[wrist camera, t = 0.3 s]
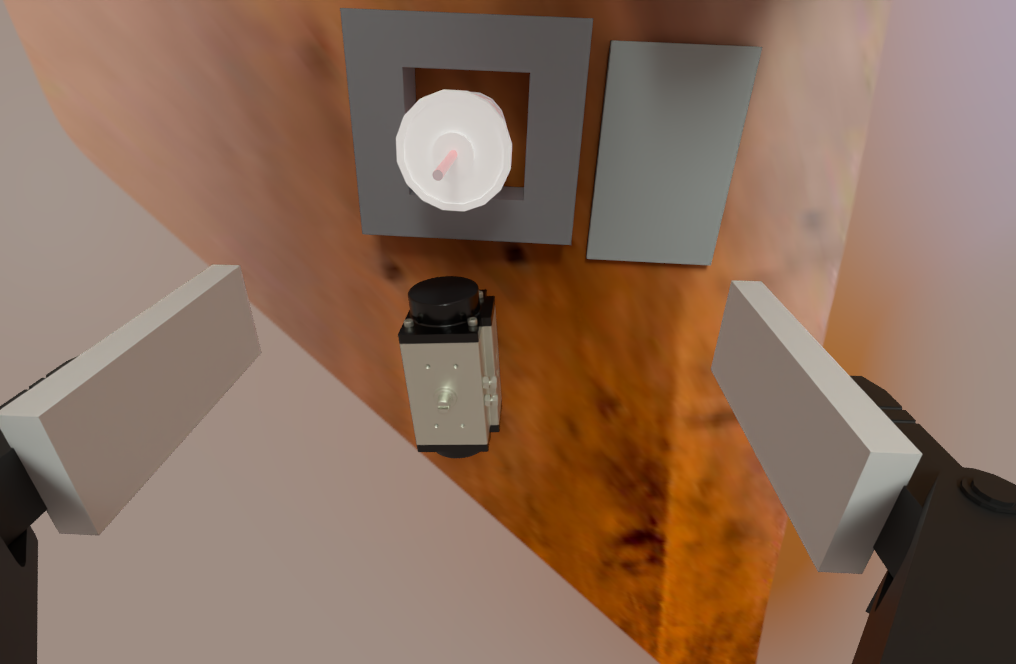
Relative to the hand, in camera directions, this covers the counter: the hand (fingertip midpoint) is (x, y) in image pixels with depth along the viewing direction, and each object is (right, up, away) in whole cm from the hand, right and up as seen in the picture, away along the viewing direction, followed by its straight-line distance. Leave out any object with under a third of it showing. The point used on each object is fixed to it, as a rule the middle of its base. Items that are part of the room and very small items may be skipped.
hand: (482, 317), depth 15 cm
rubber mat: (+11, +11, +21) cm, 27 cm away
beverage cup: (-2, +13, +21) cm, 25 cm away
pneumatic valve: (-2, +1, +28) cm, 28 cm away
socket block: (-2, +13, +21) cm, 25 cm away
